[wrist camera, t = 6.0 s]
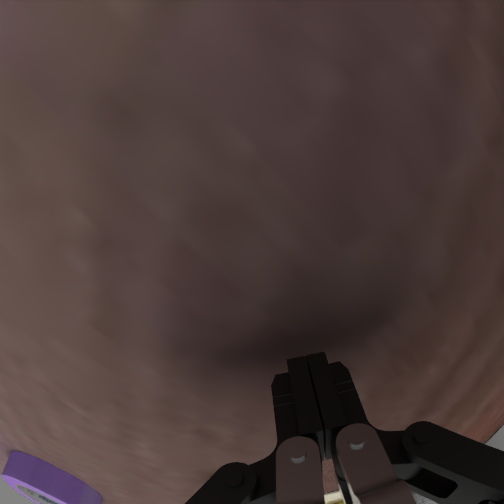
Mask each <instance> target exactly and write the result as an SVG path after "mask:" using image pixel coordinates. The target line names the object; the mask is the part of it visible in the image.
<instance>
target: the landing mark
mask: <svg viewBox="0 0 504 504" xmlns="http://www.w3.org/2000/svg"><path fill="white" fill-rule="evenodd" d="M324 499H325V504H335V503H339V502H343V499H342V496H341V493H340V490H338V491H334V492H329V493H325V494H324Z"/></svg>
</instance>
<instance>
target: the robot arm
mask: <svg viewBox="0 0 504 504" xmlns="http://www.w3.org/2000/svg"><path fill="white" fill-rule="evenodd" d="M287 365H288V371H289V372H288V373H282V374H277V375H275V377H274V380H273V382H272V385H271V388H272V396H273V405H274V413H275V422H276V431H277V445H276V448H275V449H274V451H273V452H272V453H271V454H270V455H269V456H268V457H266V458H265V459H263V460H260V461H258V462H256V463H253V464H251V465H247V464H244V463H239V462H233V463H229V464H226V465H224V466H222V467H221V468H219V469H218V470H217V471H216V472H215V474H214V475H213V476H212V477H211V478H210V479H209V480H208V481H207V482H206V483H205V484H204V485H203V486H202V487H201V488H200V489H199V490H198V491H197V492H196V493H195V494H194V495H193V496H192V497H191V498H190V499H189V500H188V501H187V502H186V503H185V504H325V499H324V489H323V479H322V476H323V475H322V461H323V460H324V453H325V457H326V460H327V459H331V458H332V459H333V464H334V468H335V478H336V481H337V484H338V487H339V490H340V493H341V496H342V499H343V502H344V504H416V502H415V500H414V497H413V495H412V493H411V491H413V492H415V493H417V494H419V495H421V496H423V497H425V498H427V499H430V500H432V501H434V502H436V503H439V504H504V451H501V450H499V449H496V448H493V447H490V446H488V445H485V444H482V443H480V442H477V441H475V440H472V439H470V438H467V437H464V436H462V435H460V434H457V433H455V432H452V431H450V430H447V429H445V428H443V427H440V426H438V425H436V424H433V423H431V422H427V421H420V422H416V423H413V424H412V425H410V426H409V427H408V428H407V429H406V430H405V431H382V430H379V429H377V428H375V427H373V426H372V425H371V424H370V423H369V422H368V420H367V418H366V415H365V412H364V410H363V407H362V404H361V401H360V399H359V396H358V393H357V391H356V389H355V386H354V383H353V381H352V378H351V375H350V373H349V370H348V369H347V368H346V367H345V366H344V365H343V364H342V363H341V362H340V361H339V362H335V363H330V364H328V361H327V358H326V355H325V353H324V352H320V353H316V354H311V355H306V359H305V356H302V357H297V358H292V359H287ZM410 490H411V491H410Z"/></svg>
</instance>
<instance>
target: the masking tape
mask: <svg viewBox="0 0 504 504" xmlns="http://www.w3.org/2000/svg"><path fill="white" fill-rule="evenodd" d="M2 478H3V479H4V481H5V482H6V483H7V484H9V485H10V486H11V487H12V488H13V489H15V490H16V491H17V492H19V493H20V494H22V495H23V496H25V497H26V498H28V499H30V500H31V501H33V502H35V503H37V504H101V500H102V498H101V496H100V494H99V493H98V492H96V491H95V490H94V489H93V488H91V487H90V486H88V485H87V484H85V483H84V482H82V481H80V480H79V479H77V478H75V477H74V476H72V475H70V474H68V473H67V472H65V471H63V470H61V469H59V468H57V467H55V466H53V465H51V464H49V463H47V462H45V461H43V460H41V459H39V458H36V457H34V456H32V455H29V454H26V453H23V452H20V451H12V452H11V453H10V456H9V458H8V461H7V463H6V465H5V468H4V470H3V473H2Z"/></svg>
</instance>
